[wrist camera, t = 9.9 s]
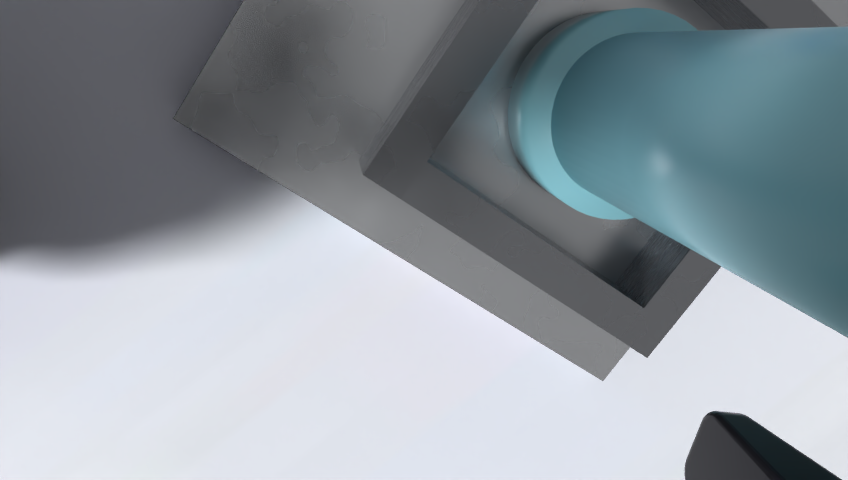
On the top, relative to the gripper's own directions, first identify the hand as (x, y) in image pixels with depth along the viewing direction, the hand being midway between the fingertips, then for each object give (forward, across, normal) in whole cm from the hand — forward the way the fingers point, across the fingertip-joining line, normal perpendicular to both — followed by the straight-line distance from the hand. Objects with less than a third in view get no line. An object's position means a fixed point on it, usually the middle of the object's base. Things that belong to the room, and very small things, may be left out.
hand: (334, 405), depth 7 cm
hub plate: (+14, -5, -2) cm, 15 cm away
